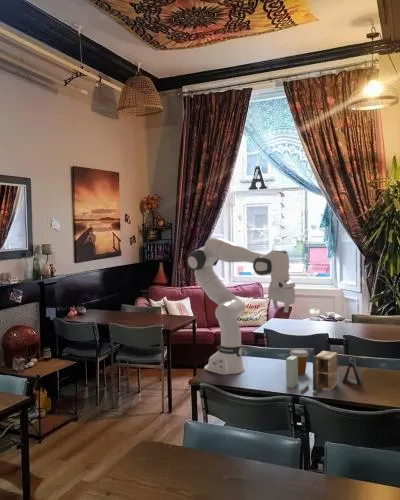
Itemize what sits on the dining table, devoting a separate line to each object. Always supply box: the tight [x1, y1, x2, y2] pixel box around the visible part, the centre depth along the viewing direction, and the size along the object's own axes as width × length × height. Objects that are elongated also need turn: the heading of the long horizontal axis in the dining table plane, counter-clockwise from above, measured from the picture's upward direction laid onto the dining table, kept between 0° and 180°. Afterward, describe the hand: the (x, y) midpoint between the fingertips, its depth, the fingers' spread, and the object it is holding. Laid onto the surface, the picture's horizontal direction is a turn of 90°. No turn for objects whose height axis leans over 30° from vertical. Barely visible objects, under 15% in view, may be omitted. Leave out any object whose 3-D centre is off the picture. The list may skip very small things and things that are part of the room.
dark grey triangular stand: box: [342, 356, 363, 386], centre depth 229 cm, size 9×6×12 cm, turn 66°
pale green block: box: [285, 355, 299, 389], centre depth 225 cm, size 4×7×14 cm, turn 147°
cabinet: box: [300, 350, 338, 397], centre depth 220 cm, size 11×21×16 cm, turn 147°
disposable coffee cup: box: [289, 348, 309, 376], centre depth 244 cm, size 10×10×12 cm
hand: (281, 310), depth 222 cm, fingers open, 8 cm apart
